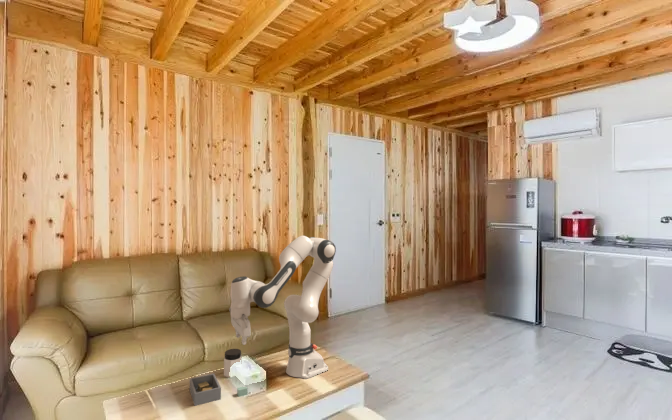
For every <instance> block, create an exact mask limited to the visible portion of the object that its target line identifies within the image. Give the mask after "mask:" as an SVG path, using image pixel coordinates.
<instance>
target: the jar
mask: <svg viewBox="0 0 672 420" xmlns="http://www.w3.org/2000/svg"><path fill="white" fill-rule="evenodd" d="M240 360H241V361H242V350H241V349H239V348H229V349H227V350H225V352H224V359H223V377H227V378H229V372H230V367H231V366H232V365H233V364H234V363H236V362H240Z"/></svg>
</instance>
